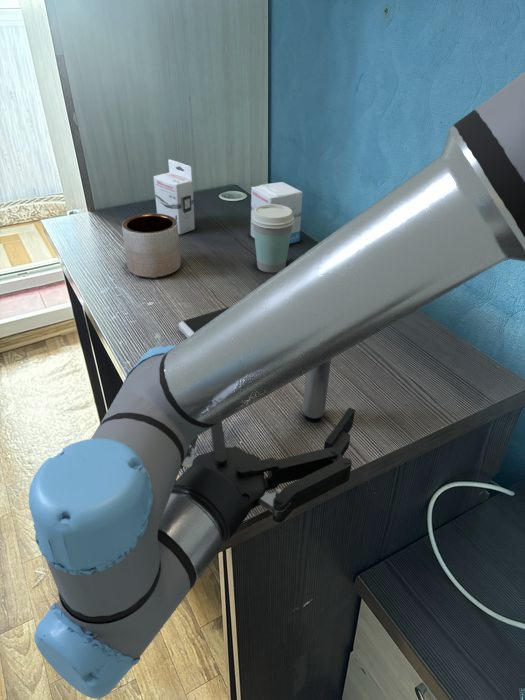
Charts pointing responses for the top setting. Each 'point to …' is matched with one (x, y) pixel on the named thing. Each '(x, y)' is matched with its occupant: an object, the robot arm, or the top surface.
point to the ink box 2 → (279, 203)
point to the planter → (151, 245)
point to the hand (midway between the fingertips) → (299, 396)
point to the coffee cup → (272, 236)
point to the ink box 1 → (176, 195)
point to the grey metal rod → (316, 392)
